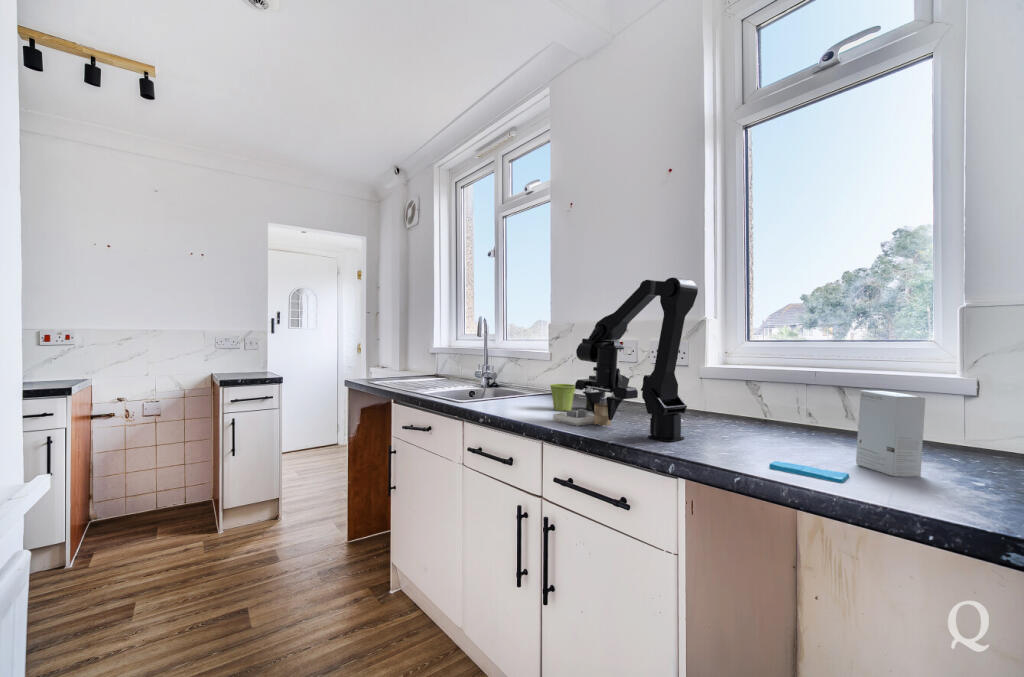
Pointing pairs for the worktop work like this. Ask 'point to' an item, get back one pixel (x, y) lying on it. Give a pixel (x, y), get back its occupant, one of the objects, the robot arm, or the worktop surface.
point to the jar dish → (574, 417)
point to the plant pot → (562, 396)
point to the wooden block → (601, 414)
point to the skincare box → (890, 432)
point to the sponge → (810, 471)
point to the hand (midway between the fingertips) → (603, 418)
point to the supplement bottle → (602, 398)
